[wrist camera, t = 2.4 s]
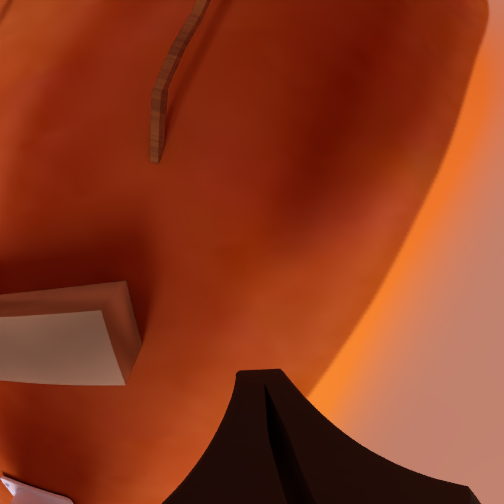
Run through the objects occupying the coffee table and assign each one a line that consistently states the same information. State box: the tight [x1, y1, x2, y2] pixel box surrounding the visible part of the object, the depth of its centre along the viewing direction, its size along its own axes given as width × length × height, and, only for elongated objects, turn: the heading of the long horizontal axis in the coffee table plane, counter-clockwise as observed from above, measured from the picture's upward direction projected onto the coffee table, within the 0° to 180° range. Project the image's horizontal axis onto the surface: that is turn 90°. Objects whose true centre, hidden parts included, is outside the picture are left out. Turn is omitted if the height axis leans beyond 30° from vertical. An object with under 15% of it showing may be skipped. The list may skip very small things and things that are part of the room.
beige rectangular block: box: [0, 281, 143, 385], centre depth 12 cm, size 3×9×4 cm, turn 96°
